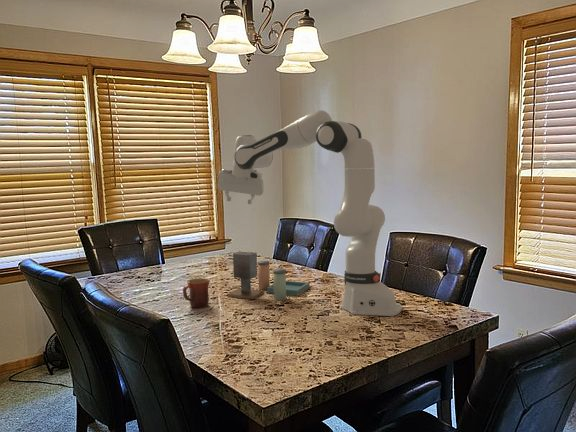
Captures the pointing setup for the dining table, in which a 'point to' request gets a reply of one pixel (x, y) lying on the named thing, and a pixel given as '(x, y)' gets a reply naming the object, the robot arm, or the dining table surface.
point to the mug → (197, 292)
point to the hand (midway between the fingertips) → (239, 202)
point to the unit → (245, 275)
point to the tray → (291, 287)
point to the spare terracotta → (263, 274)
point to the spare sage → (279, 284)
